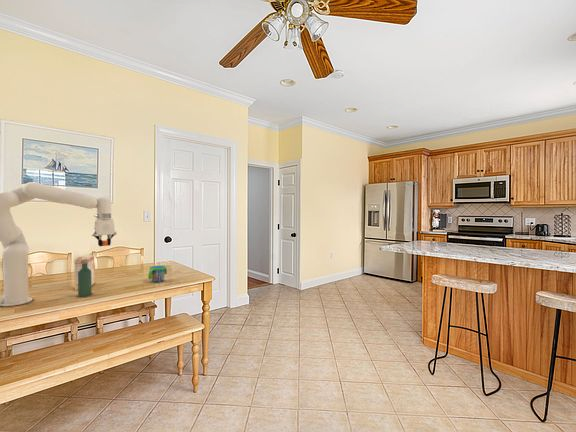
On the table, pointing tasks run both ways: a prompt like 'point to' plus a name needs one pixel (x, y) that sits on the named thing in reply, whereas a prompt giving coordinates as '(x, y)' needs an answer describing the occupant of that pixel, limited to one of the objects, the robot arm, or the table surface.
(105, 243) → the cap
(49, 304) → the table surface
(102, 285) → the table surface
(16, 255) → the robot arm
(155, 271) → the snack cup
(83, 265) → the bottle
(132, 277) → the table surface
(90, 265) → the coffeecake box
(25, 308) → the table surface
